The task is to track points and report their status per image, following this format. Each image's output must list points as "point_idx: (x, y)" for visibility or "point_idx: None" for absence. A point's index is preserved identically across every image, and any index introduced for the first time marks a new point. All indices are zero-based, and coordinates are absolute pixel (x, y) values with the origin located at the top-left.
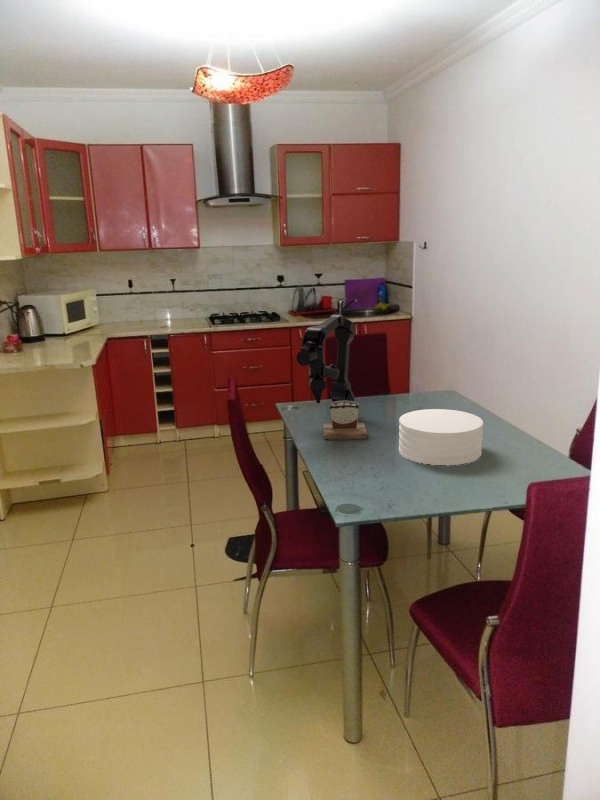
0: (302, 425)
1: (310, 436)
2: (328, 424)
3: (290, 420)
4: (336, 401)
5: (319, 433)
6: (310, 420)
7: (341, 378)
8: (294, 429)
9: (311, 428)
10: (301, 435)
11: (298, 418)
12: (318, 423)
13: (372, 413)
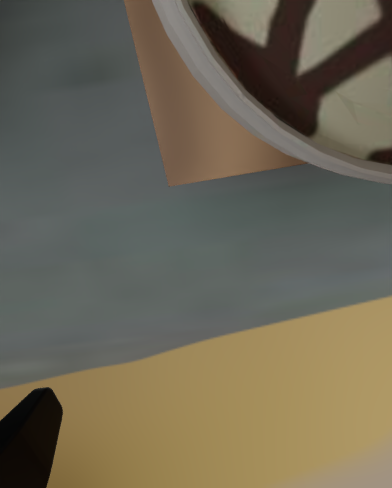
0: (129, 306)
1: (352, 235)
2: (184, 142)
3: (54, 369)
4: (220, 66)
5: (288, 186)
6: (19, 277)
7: None
8: (211, 335)
9: (180, 251)
10: (327, 288)
11: (6, 340)
12: (65, 223)
13: None
